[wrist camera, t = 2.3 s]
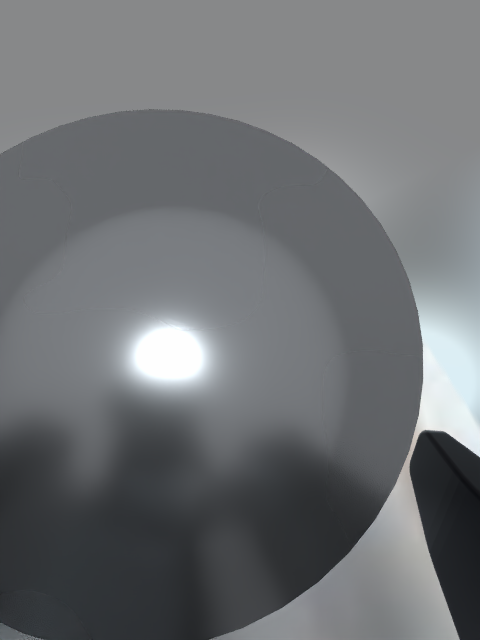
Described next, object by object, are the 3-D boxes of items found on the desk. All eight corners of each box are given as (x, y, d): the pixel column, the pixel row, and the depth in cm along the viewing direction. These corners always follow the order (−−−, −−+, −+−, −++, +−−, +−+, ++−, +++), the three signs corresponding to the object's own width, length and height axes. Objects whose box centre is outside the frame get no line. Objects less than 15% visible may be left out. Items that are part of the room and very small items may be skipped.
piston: (301, 436, 16) (539, 351, 4) (194, 539, 15) (84, 854, 3) (211, 336, 18) (189, 36, 5) (105, 423, 16) (-249, 298, 4)
